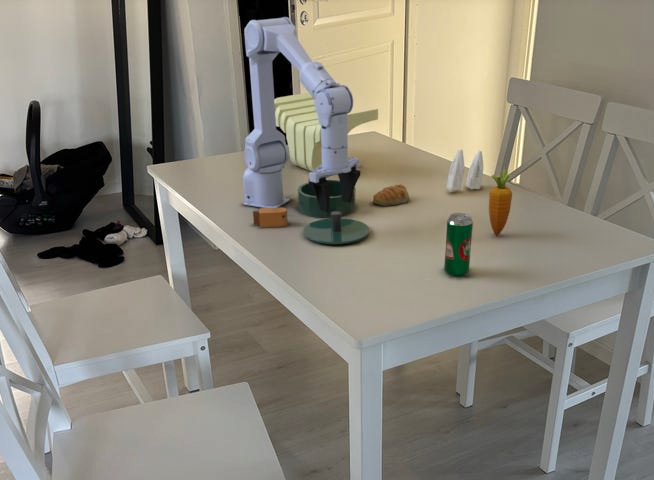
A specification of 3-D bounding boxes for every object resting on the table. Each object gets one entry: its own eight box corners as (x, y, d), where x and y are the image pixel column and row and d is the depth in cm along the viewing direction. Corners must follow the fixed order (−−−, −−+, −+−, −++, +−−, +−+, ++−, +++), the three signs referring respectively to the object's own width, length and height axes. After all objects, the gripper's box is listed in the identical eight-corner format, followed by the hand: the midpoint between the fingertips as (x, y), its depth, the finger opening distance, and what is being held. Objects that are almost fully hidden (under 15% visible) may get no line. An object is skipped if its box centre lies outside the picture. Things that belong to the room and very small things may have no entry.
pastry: (383, 209, 185) (383, 194, 183) (366, 202, 190) (366, 188, 188) (411, 201, 190) (411, 186, 188) (394, 195, 195) (394, 180, 193)
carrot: (494, 241, 166) (500, 175, 159) (481, 234, 170) (486, 169, 162) (512, 237, 168) (519, 172, 161) (498, 230, 172) (505, 166, 164)
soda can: (441, 267, 154) (445, 212, 148) (465, 266, 155) (470, 211, 148) (446, 278, 150) (450, 221, 144) (471, 277, 150) (475, 220, 144)
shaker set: (450, 196, 193) (453, 154, 187) (440, 192, 196) (443, 150, 190) (485, 188, 198) (489, 147, 193) (475, 184, 201) (478, 143, 196)
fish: (253, 228, 175) (252, 213, 173) (254, 222, 178) (253, 208, 176) (287, 226, 175) (286, 212, 173) (287, 221, 178) (286, 207, 176)
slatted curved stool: (272, 160, 222) (268, 99, 213) (314, 151, 231) (312, 91, 222) (332, 184, 202) (331, 117, 193) (377, 173, 211) (378, 108, 202)
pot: (340, 221, 178) (339, 201, 176) (288, 212, 183) (287, 193, 181) (364, 203, 189) (364, 184, 187) (315, 195, 194) (314, 177, 192)
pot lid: (352, 251, 162) (352, 229, 160) (291, 240, 168) (290, 218, 165) (379, 228, 174) (380, 207, 171) (322, 218, 180) (321, 198, 177)
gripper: (325, 156, 154) (327, 218, 161) (369, 141, 163) (369, 201, 170) (301, 150, 157) (303, 211, 164) (345, 136, 167) (346, 195, 174)
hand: (335, 205), depth 168 cm, fingers open, 7 cm apart
